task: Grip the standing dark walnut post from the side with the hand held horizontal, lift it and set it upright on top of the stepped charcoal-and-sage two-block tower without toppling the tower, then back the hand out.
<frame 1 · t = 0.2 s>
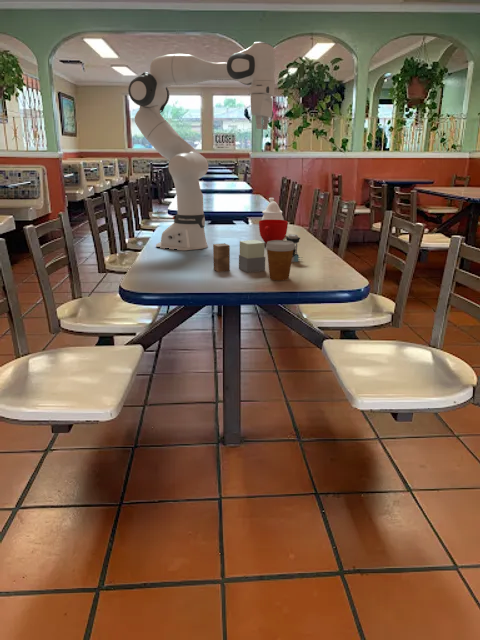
hand: (262, 129, 193), 48 cm above the table, tool pointing down, fingers open, 8 cm apart
disposable coffee cup: (279, 279, 165), on the table
tower base block: (251, 269, 177), on the table, touching tower top block
walnut post: (221, 270, 176), on the table
tower top block: (251, 256, 175), point 5 cm above the table, touching tower base block
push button: (293, 261, 190), on the table
ceramic cup: (271, 244, 224), on the table
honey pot: (272, 235, 248), on the table
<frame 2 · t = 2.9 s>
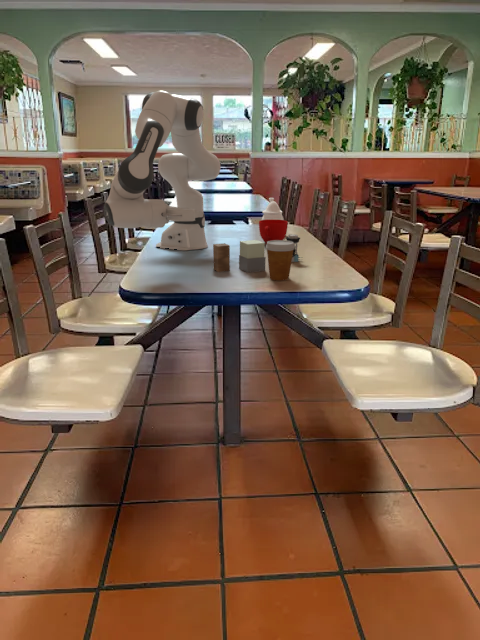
hand: (196, 213, 165), 20 cm above the table, tool horizontal, fingers open, 8 cm apart
nothing on the table moved.
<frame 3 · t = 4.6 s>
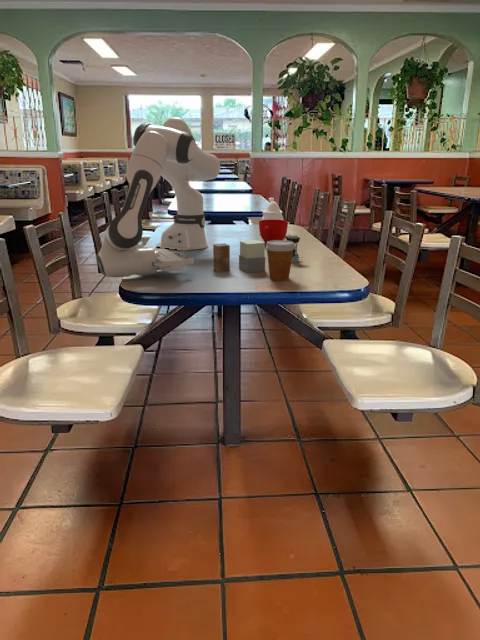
hand: (188, 257, 169), 5 cm above the table, tool horizontal, fingers open, 8 cm apart
nothing on the table moved.
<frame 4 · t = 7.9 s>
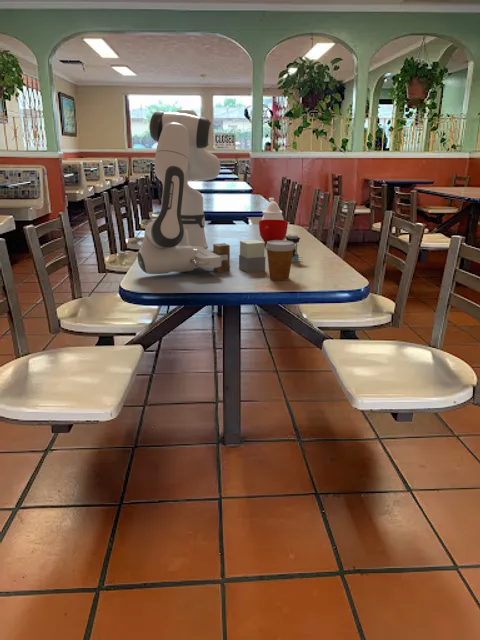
hand: (223, 255, 174), 5 cm above the table, tool horizontal, fingers closed on walnut post, 4 cm apart
walnut post: (221, 270, 176), on the table, touching gripper
everything else where it was.
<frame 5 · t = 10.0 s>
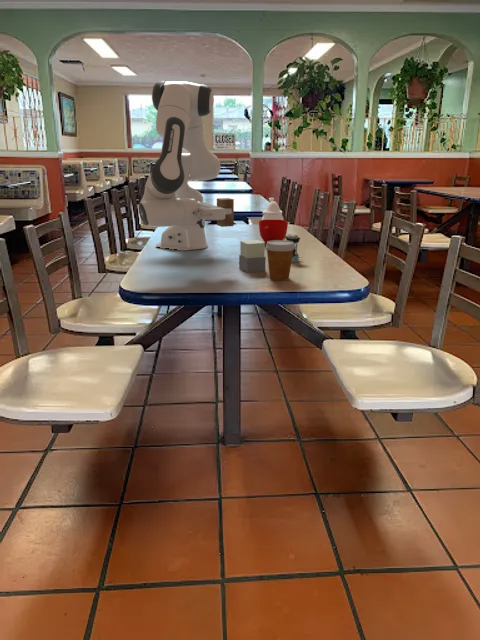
hand: (227, 210, 169), 21 cm above the table, tool horizontal, fingers closed on walnut post, 4 cm apart
walnut post: (225, 225, 171), point 16 cm above the table, touching gripper
everything else where it was.
when the fingers open (16 cm above the table, at t = 12.2 s): walnut post drops 1 cm, resting on tower top block.
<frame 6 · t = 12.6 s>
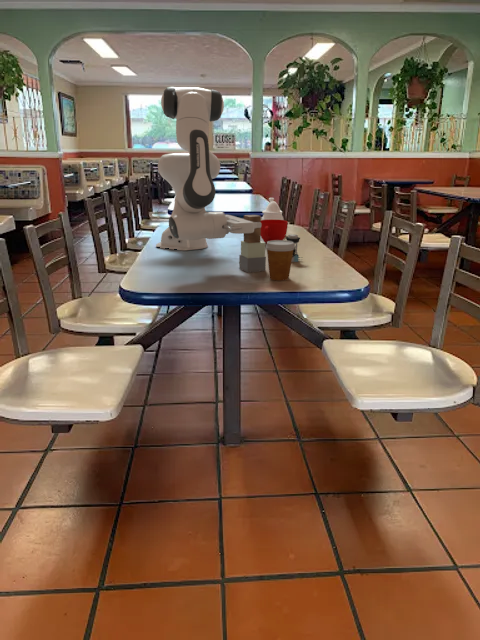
hand: (254, 222, 172), 16 cm above the table, tool horizontal, fingers open, 8 cm apart
walnut post: (251, 241, 174), point 10 cm above the table, touching tower top block
tower top block: (252, 255, 175), point 5 cm above the table, touching tower base block, walnut post
everything else where it was.
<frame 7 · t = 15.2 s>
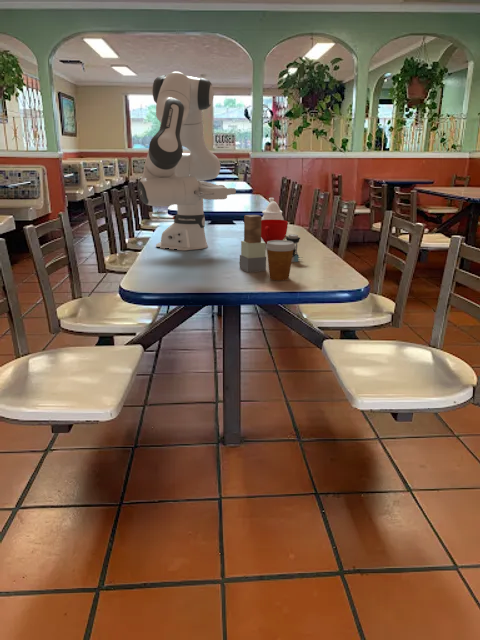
hand: (229, 189, 165), 28 cm above the table, tool horizontal, fingers open, 8 cm apart
walnut post: (252, 241, 174), point 10 cm above the table
tower top block: (253, 255, 175), point 5 cm above the table, touching tower base block
everything else where it was.
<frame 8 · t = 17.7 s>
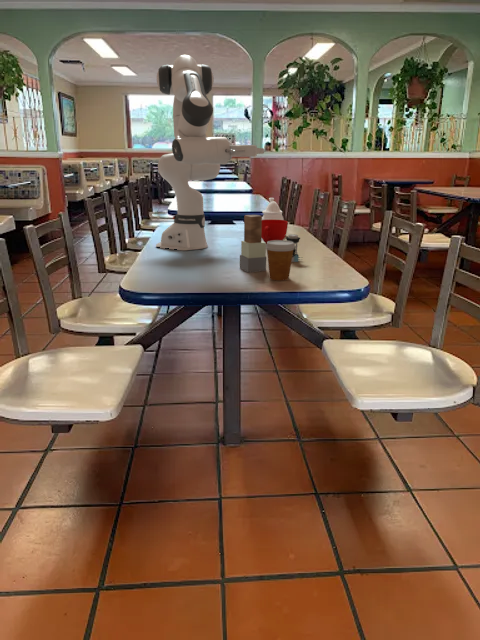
hand: (257, 150, 174), 40 cm above the table, tool horizontal, fingers open, 8 cm apart
walnut post: (252, 241, 174), point 10 cm above the table, touching tower top block
tower top block: (253, 255, 175), point 5 cm above the table, touching tower base block, walnut post
everything else where it was.
at the end: walnut post 0.3 cm off-centre on the tower top block, point 5.0 cm above the tower top block's base; walnut post tilted 0°; tower top block moved 0.6 cm from its start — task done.
